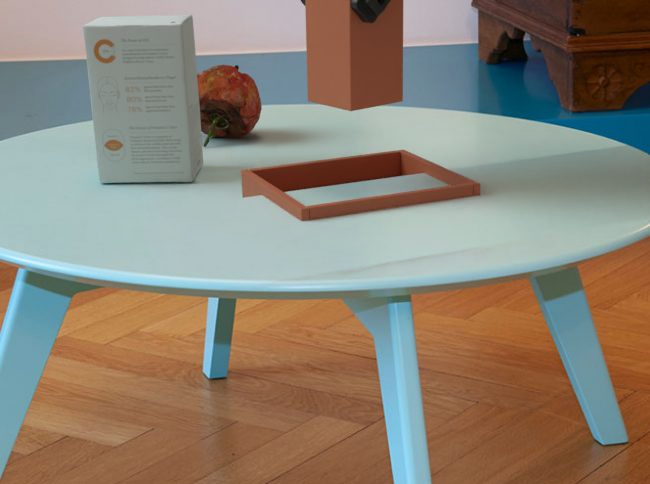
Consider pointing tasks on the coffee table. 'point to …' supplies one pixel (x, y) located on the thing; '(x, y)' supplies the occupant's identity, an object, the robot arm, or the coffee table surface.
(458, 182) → the terracotta frame
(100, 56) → the small box
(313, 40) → the terracotta block
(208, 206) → the coffee table surface
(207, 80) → the red round fruit
